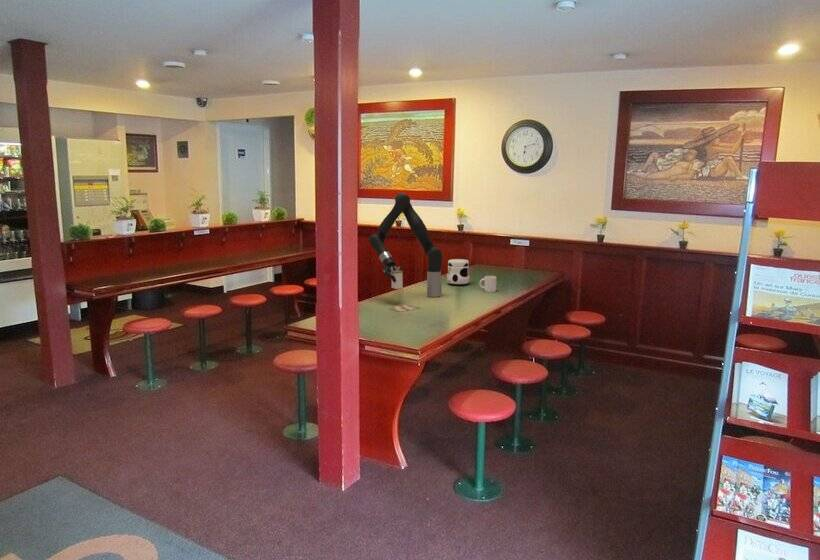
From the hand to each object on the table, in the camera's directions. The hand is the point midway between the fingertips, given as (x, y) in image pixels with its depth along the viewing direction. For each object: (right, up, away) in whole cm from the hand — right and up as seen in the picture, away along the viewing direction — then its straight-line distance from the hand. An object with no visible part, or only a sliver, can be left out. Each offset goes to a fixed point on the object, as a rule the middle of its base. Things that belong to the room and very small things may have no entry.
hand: (398, 281), depth 365 cm
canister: (-1, -4, +2) cm, 5 cm away
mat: (+3, -17, -7) cm, 19 cm away
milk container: (+43, -3, +67) cm, 80 cm away
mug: (+62, -7, +43) cm, 76 cm away
